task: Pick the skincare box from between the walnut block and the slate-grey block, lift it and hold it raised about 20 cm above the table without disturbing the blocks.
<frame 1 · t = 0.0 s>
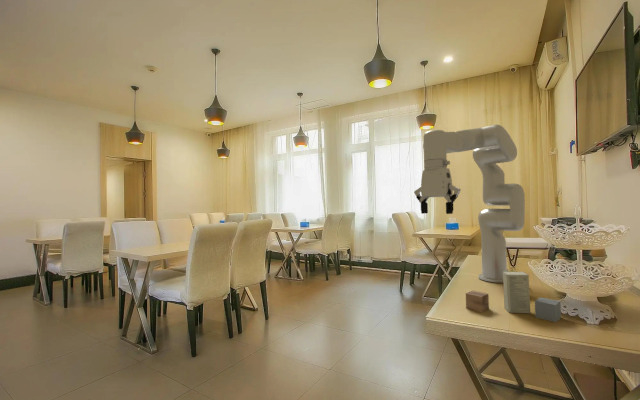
hand: (436, 213, 106), 31 cm above the table, tool pointing down, fingers open, 9 cm apart
slate block: (548, 317, 90), on the table
walnut block: (477, 308, 98), on the table
skincare box: (516, 311, 95), on the table
strawberry: (512, 293, 113), on the table
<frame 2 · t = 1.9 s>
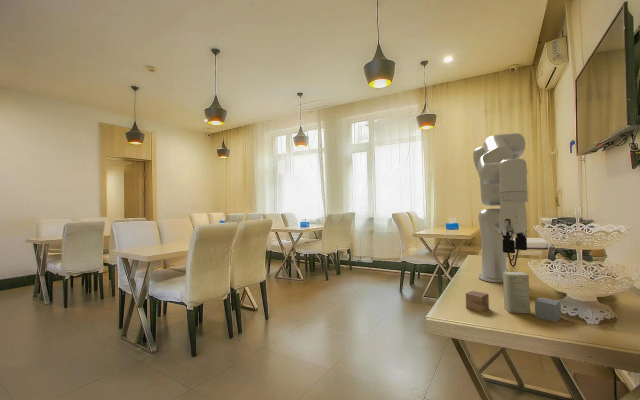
hand: (515, 251, 95), 19 cm above the table, tool pointing down, fingers open, 9 cm apart
nothing on the table moved.
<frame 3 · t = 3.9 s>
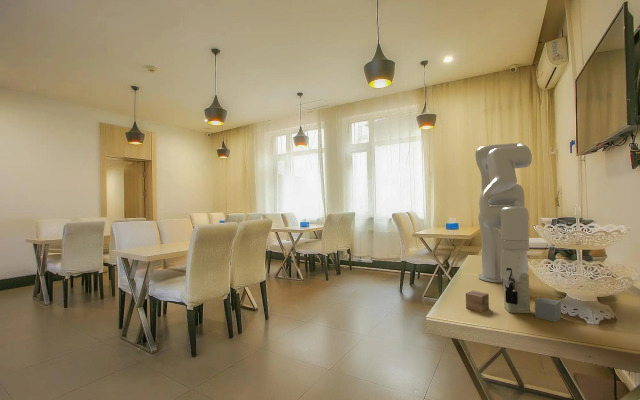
hand: (516, 300, 95), 3 cm above the table, tool pointing down, fingers closed on skincare box, 7 cm apart
skincare box: (516, 311, 95), on the table, touching gripper
everything else where it was.
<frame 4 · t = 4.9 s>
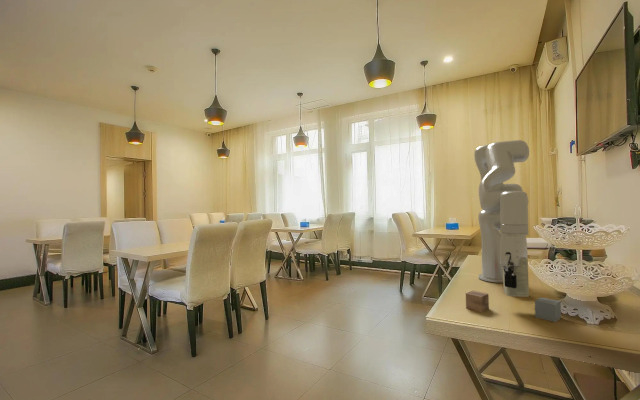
hand: (515, 284, 96), 8 cm above the table, tool pointing down, fingers closed on skincare box, 6 cm apart
skincare box: (515, 295, 96), point 5 cm above the table, touching gripper
everything else where it was.
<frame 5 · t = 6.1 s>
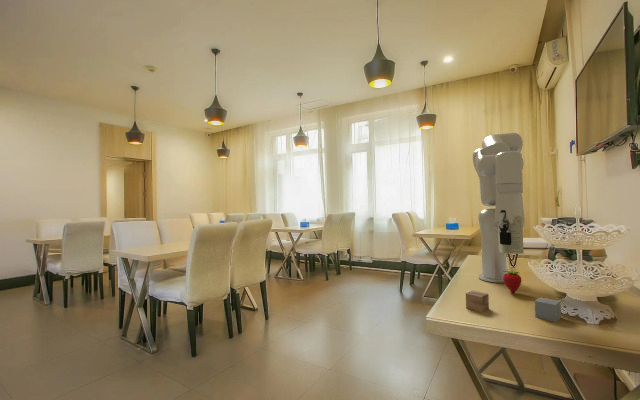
hand: (510, 242, 99), 21 cm above the table, tool pointing down, fingers closed on skincare box, 6 cm apart
skincare box: (510, 253, 99), point 18 cm above the table, touching gripper
everything else where it was.
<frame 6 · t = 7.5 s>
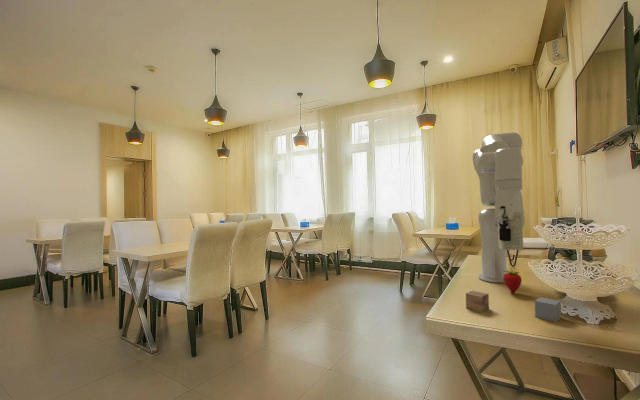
hand: (510, 239, 99), 23 cm above the table, tool pointing down, fingers closed on skincare box, 6 cm apart
skincare box: (510, 249, 99), point 19 cm above the table, touching gripper
everything else where it was.
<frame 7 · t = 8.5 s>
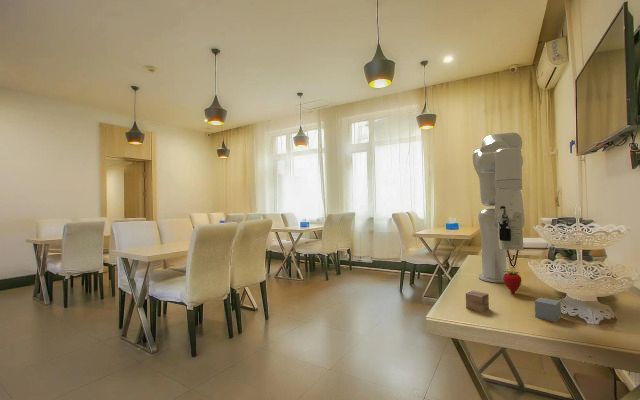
hand: (510, 239, 99), 23 cm above the table, tool pointing down, fingers closed on skincare box, 6 cm apart
skincare box: (510, 249, 99), point 19 cm above the table, touching gripper
everything else where it was.
at the end: the gripper is holding skincare box; skincare box point 19.0 cm above the table; walnut block moved 0.1 cm from its start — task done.
